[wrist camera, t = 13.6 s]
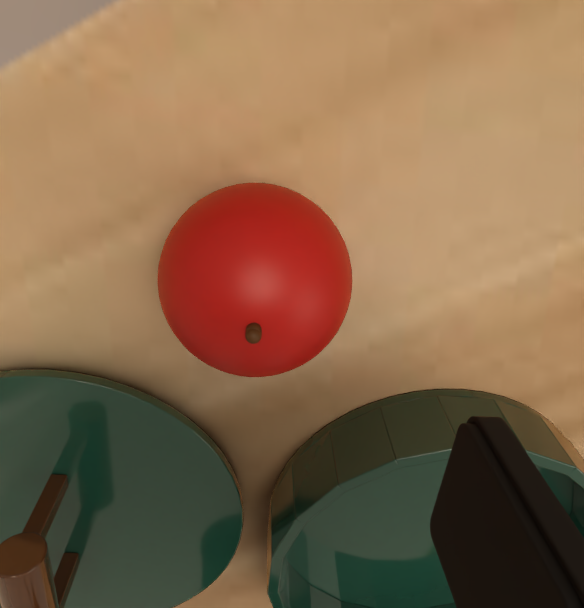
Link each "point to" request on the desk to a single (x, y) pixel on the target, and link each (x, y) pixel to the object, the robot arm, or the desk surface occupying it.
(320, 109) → the desk surface
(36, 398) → the lid
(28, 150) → the desk surface
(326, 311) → the apple
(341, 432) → the pot
